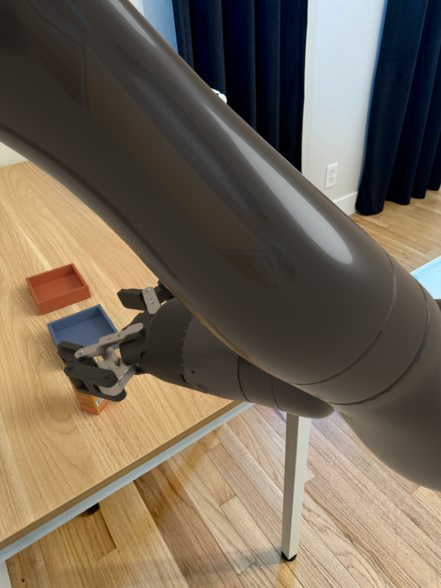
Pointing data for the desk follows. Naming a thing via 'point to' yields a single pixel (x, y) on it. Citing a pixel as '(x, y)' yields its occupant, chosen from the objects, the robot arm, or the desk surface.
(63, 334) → the blue tray
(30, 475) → the desk surface
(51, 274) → the terracotta tray
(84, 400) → the supplement box
